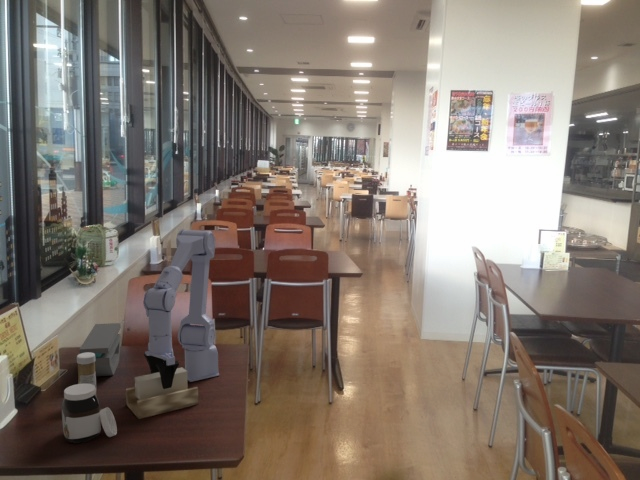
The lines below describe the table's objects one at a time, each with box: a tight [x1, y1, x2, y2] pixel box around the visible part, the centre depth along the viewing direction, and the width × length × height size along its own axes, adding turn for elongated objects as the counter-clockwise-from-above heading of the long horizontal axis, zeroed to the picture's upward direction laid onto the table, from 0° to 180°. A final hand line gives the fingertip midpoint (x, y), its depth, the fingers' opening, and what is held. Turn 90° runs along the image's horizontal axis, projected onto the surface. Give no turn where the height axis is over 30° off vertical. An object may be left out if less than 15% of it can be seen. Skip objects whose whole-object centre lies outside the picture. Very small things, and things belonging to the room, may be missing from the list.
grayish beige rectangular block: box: [134, 367, 189, 400], centre depth 155 cm, size 13×4×5 cm, turn 125°
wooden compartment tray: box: [125, 386, 199, 420], centre depth 156 cm, size 16×10×4 cm, turn 125°
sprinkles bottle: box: [76, 352, 97, 396], centre depth 156 cm, size 5×5×13 cm
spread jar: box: [61, 383, 118, 444], centre depth 138 cm, size 12×11×12 cm
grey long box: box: [78, 322, 122, 377], centre depth 180 cm, size 25×8×11 cm, turn 11°
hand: (161, 383), depth 155 cm, fingers open, 7 cm apart
